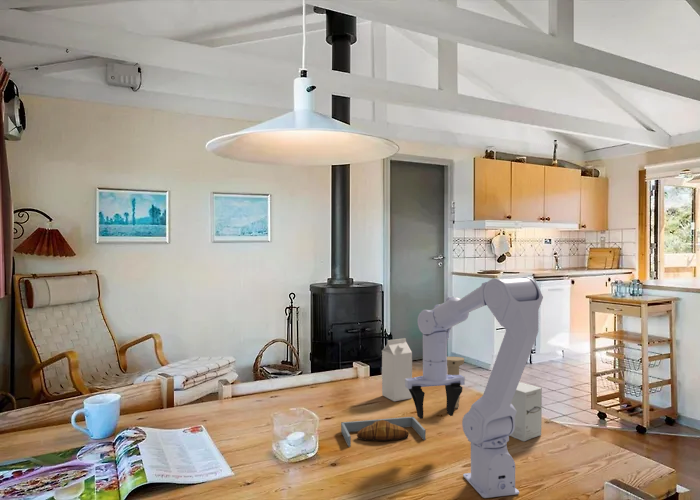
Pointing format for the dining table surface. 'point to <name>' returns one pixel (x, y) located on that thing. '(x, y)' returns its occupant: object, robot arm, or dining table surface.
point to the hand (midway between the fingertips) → (435, 415)
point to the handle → (454, 369)
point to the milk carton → (396, 369)
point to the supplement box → (527, 411)
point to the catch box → (358, 425)
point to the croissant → (382, 432)
